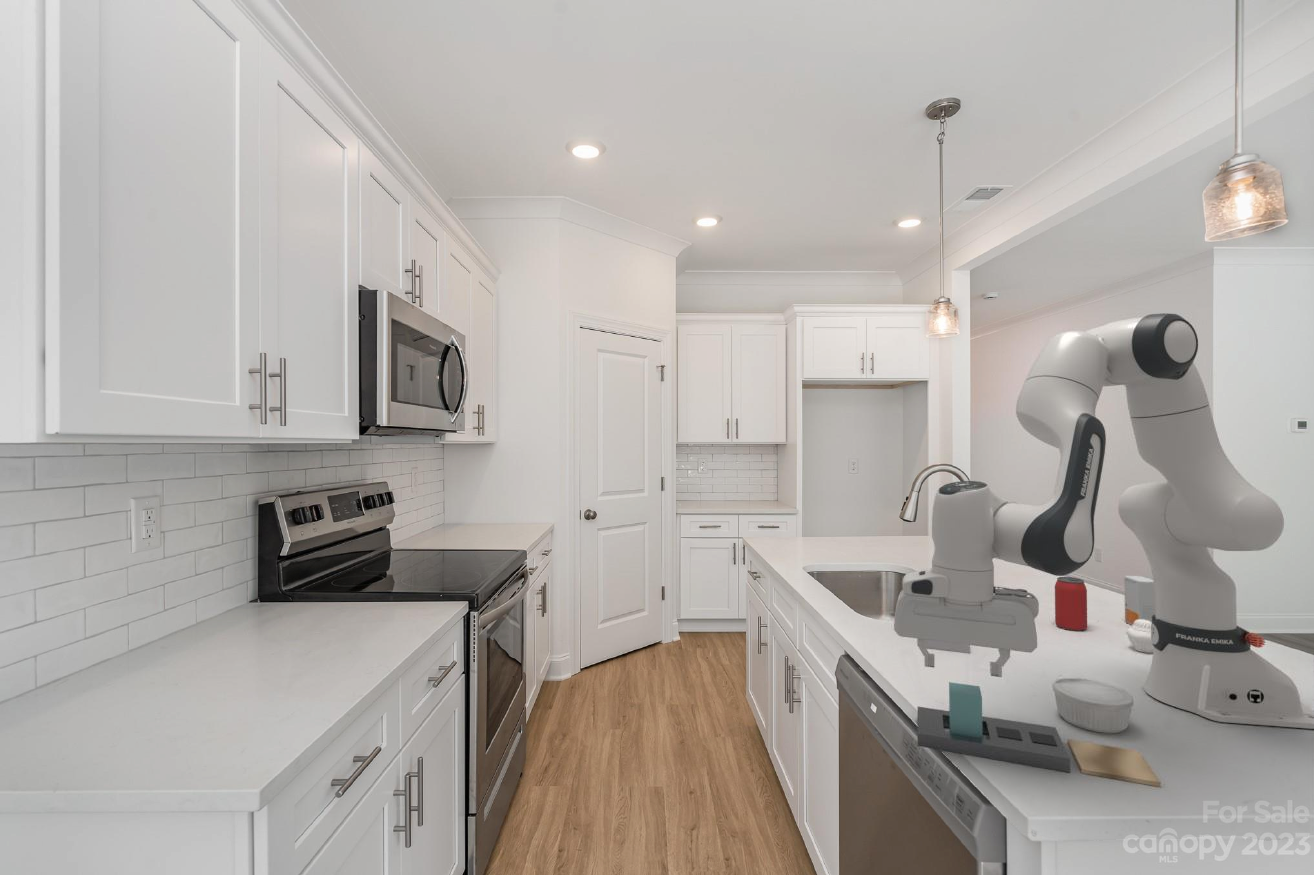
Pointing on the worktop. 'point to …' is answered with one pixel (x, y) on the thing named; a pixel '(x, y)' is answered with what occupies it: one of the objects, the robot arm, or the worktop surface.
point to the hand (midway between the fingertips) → (962, 670)
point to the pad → (1112, 763)
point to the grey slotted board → (996, 740)
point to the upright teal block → (965, 710)
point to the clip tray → (948, 646)
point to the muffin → (1141, 636)
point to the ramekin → (1093, 704)
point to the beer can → (1071, 604)
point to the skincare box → (1138, 598)
